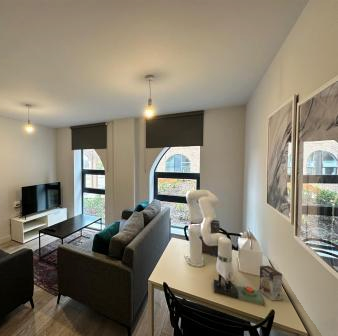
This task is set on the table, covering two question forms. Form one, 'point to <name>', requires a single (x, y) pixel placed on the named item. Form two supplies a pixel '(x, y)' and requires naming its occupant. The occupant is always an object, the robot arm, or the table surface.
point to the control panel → (224, 290)
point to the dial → (223, 282)
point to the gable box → (249, 254)
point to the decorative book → (214, 229)
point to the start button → (249, 289)
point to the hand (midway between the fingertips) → (224, 284)
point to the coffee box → (270, 282)
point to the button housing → (249, 295)
